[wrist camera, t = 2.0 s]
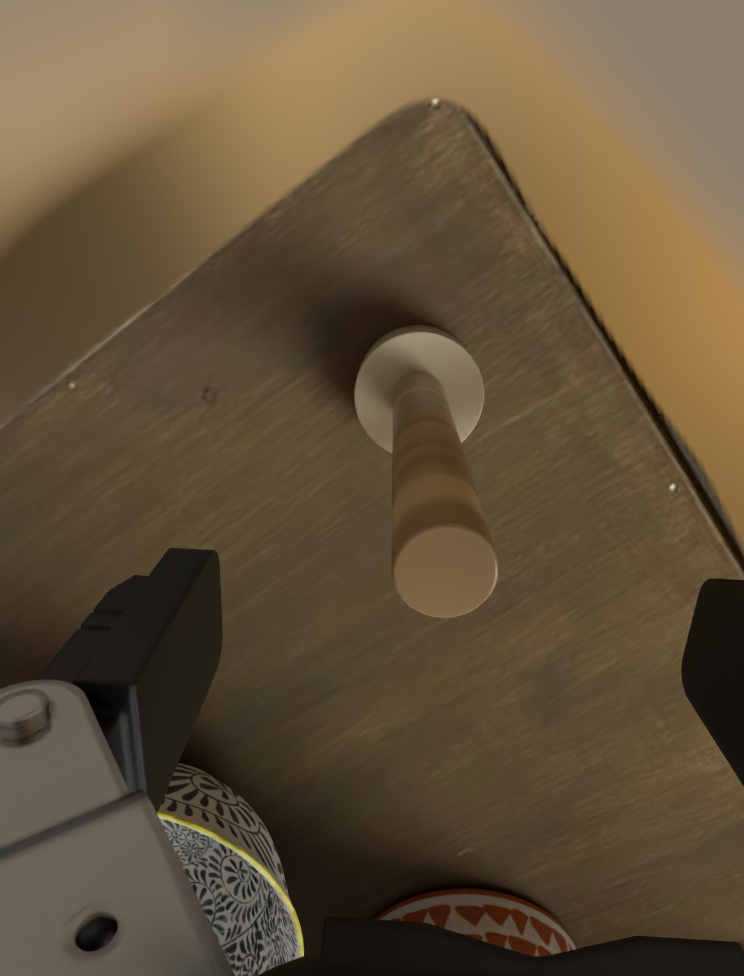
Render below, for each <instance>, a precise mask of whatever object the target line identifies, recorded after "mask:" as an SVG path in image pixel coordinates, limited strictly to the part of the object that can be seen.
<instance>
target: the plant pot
mask: <svg viewBox="0 0 744 976" xmlns="http://www.w3.org/2000/svg"><path fill="white" fill-rule="evenodd" d="M375 919H377V920H393V921H409V922H425V923H429V924H432V925H435V926H438V927H441V928H444V929H448V930H451V931H454V932H457V933H460V934H463V935H466V936H469V937H473V938H476V939H479V940H482V941H485V942H488V943H491V944H494V945H498V946H501V947H504V948H507V949H510V950H513V951H516V952H519V953H523V954H526V955H530V956H548V955H552V954H557V953H561V952H566V951H570V950H575V949H577V948H576V946H575V944H574V942H573V940H572V938H571V937H570V935H569V934H568V932H567V931H566V930H565V929H564V927H563V926H562V925H561V924H560V923H559V922H558V921H557V920H556V919H555V918H553V917H552V916H551V915H550V914H548V913H547V912H545V911H544V910H543V909H541V908H539V907H537V906H536V905H534V904H532V903H530V902H528V901H525V900H523V899H521V898H518V897H515V896H512V895H509V894H505V893H501V892H496V891H491V890H484V889H471V888H459V889H446V890H438V891H433V892H428V893H424V894H421V895H417V896H414V897H412V898H409V899H406V900H404V901H402V902H400V903H398V904H396V905H394V906H392V907H390V908H389V909H387V910H386V911H384V912H383V913H381V914H380V915H379V916H378V917H376V918H375Z"/></svg>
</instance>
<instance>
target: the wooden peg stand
mask: <svg viewBox="0 0 744 976" xmlns="http://www.w3.org/2000/svg"><path fill="white" fill-rule="evenodd" d="M354 403H355V409H356V413H357V416H358V419H359V421H360V424H361V426H362V427H363V429H364V431H365V432H366V433H367V435H368V436H369V437H370V438H371V439H372V440H373V441H374V442H375V443H376V444H377V445H378V446H380V447H381V448H383V449H384V450H386V451H388V452H390V453H392V580H393V583H394V586H395V588H396V591H397V592H398V594H399V595H400V597H401V598H402V599H403V600H404V601H405V602H406V603H407V604H408V605H409V606H410V607H412V608H413V609H415V610H416V611H418V612H420V613H422V614H425V615H428V616H432V617H439V618H449V617H456V616H460V615H463V614H466V613H469V612H471V611H473V610H474V609H476V608H477V607H479V606H480V605H481V604H482V603H484V602H485V600H486V599H487V598H488V597H489V596H490V594H491V593H492V591H493V589H494V587H495V585H496V582H497V579H498V574H499V564H498V558H497V555H496V551H495V548H494V545H493V542H492V539H491V536H490V533H489V529H488V526H487V523H486V520H485V517H484V514H483V511H482V507H481V504H480V501H479V498H478V495H477V492H476V489H475V485H474V482H473V479H472V476H471V473H470V470H469V467H468V463H467V460H466V457H465V454H464V451H463V448H462V445H461V443H462V442H463V441H464V440H465V439H466V438H467V437H468V436H469V434H470V433H471V432H472V431H473V429H474V427H475V426H476V424H477V422H478V420H479V418H480V415H481V412H482V408H483V403H484V385H483V380H482V376H481V373H480V370H479V368H478V366H477V364H476V362H475V361H474V359H473V357H472V356H471V354H470V353H469V351H468V350H467V348H466V347H465V346H464V345H463V344H462V343H461V342H460V341H459V340H458V339H457V338H456V337H454V336H453V335H452V334H450V333H448V332H446V331H444V330H442V329H440V328H437V327H433V326H428V325H410V326H404V327H401V328H397V329H395V330H393V331H390V332H389V333H387V334H385V335H384V336H382V337H381V338H380V339H379V340H377V341H376V342H375V343H374V344H373V345H372V346H371V348H370V349H369V350H368V352H367V353H366V355H365V356H364V358H363V360H362V363H361V365H360V368H359V371H358V375H357V379H356V383H355V390H354Z"/></svg>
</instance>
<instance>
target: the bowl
mask: <svg viewBox="0 0 744 976" xmlns="http://www.w3.org/2000/svg"><path fill="white" fill-rule="evenodd" d="M157 815H158V817H159V819H160V821H161V823H162V825H163V827H164V829H165V831H166V833H167V835H168V838H169V840H170V842H171V844H172V846H173V848H174V850H175V852H176V854H177V856H178V858H179V860H180V862H181V865H182V867H183V869H184V871H185V873H186V875H187V877H188V879H189V881H190V883H191V885H192V887H193V889H194V891H195V894H196V896H197V898H198V900H199V902H200V904H201V906H202V908H203V910H204V912H205V914H206V916H207V918H208V920H209V923H210V925H211V927H212V929H213V931H214V933H215V935H216V937H217V939H218V941H219V943H220V945H221V947H222V949H223V952H224V954H225V956H226V958H227V960H228V962H229V964H230V966H231V968H232V970H233V972H234V974H235V976H257V975H259V974H261V973H263V972H265V971H267V970H269V969H271V968H273V967H275V966H277V965H280V964H283V963H286V962H288V961H291V960H294V959H297V958H300V957H303V956H304V943H303V935H302V931H301V926H300V923H299V920H298V916H297V914H296V912H295V909H294V907H293V905H292V903H291V901H290V898H289V895H288V892H287V887H286V882H285V878H284V873H283V870H282V866H281V862H280V859H279V856H278V853H277V851H276V848H275V846H274V843H273V841H272V839H271V837H270V835H269V833H268V830H267V828H266V827H265V826H264V824H263V822H262V820H261V819H260V818H259V817H258V815H257V814H256V813H255V811H254V810H253V809H252V808H251V807H250V805H249V804H248V803H247V802H246V801H245V800H244V799H243V798H242V797H241V796H239V795H238V794H237V793H236V792H235V791H234V790H232V789H231V788H230V787H228V786H227V785H225V784H224V783H222V782H220V781H219V780H217V779H215V778H214V777H212V776H211V775H209V774H208V773H206V772H204V771H202V770H200V769H198V768H195V767H192V766H189V765H185V764H181V763H178V765H177V767H176V770H175V772H174V774H173V777H172V779H171V782H170V784H169V787H168V789H167V791H166V794H165V796H164V799H163V801H162V803H161V806H160V808H159V811H158V813H157Z"/></svg>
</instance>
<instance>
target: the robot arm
mask: <svg viewBox="0 0 744 976" xmlns="http://www.w3.org/2000/svg"><path fill="white" fill-rule="evenodd" d="M221 648H222V610H221V587H220V565H219V558H218V554H217V552H216V551H215V550H200V549H182V548H170V549H168V551H167V552H166V553H165V554H164V556H163V557H162V559H161V560H160V561H159V563H158V564H157V565H156V567H155V568H154V569H153V571H152V572H151V574H150V575H149V576H139V575H134V576H133V577H131V578H129V579H128V580H126V581H124V582H123V583H121V584H119V585H118V586H116V587H114V588H112V589H111V590H109V591H108V592H107V594H106V595H105V596H104V597H103V599H102V600H101V601H100V602H99V604H98V605H97V606H96V607H95V608H94V612H93V613H90V615H89V616H88V617H87V618H86V619H85V621H84V622H83V623H82V624H81V629H77V631H76V632H75V633H74V634H73V635H72V637H71V638H70V639H69V640H68V642H67V643H66V644H65V645H64V646H63V648H62V649H61V650H60V651H59V653H58V654H57V655H56V656H55V658H54V659H53V660H52V661H51V662H50V664H49V665H48V666H47V667H46V669H45V670H44V671H43V672H42V673H41V675H40V676H39V677H38V678H37V680H33V681H27V682H22V683H18V684H14V685H11V686H8V687H5V688H2V689H0V976H235V974H234V972H233V970H232V968H231V966H230V964H229V962H228V960H227V958H226V956H225V954H224V952H223V949H222V947H221V945H220V943H219V941H218V939H217V937H216V935H215V933H214V931H213V929H212V927H211V925H210V923H209V920H208V918H207V916H206V914H205V912H204V910H203V908H202V906H201V904H200V902H199V900H198V898H197V896H196V894H195V891H194V889H193V887H192V885H191V883H190V881H189V879H188V877H187V875H186V873H185V871H184V869H183V867H182V865H181V862H180V860H179V858H178V856H177V854H176V852H175V850H174V848H173V846H172V844H171V842H170V840H169V838H168V835H167V833H166V831H165V829H164V827H163V825H162V823H161V821H160V819H159V817H158V815H157V813H158V811H159V808H160V806H161V803H162V801H163V799H164V796H165V794H166V791H167V789H168V787H169V784H170V782H171V779H172V777H173V774H174V772H175V770H176V767H177V765H178V762H179V760H180V758H181V755H182V753H183V750H184V748H185V745H186V743H187V741H188V738H189V736H190V733H191V731H192V729H193V726H194V724H195V721H196V719H197V717H198V714H199V712H200V709H201V707H202V704H203V702H204V700H205V697H206V695H207V692H208V690H209V688H210V685H211V683H212V680H213V678H214V675H215V673H216V671H217V668H218V664H219V660H220V655H221ZM681 672H682V682H683V687H684V690H685V693H686V696H687V698H688V699H689V701H690V703H691V704H692V706H693V707H694V709H695V711H696V712H697V714H698V715H699V717H700V718H701V720H702V722H703V723H704V725H705V726H706V728H707V729H708V731H709V733H710V734H711V736H712V737H713V739H714V740H715V742H716V744H717V745H718V747H719V748H720V750H721V751H722V753H723V755H724V756H725V758H726V759H727V761H728V762H729V764H730V766H731V767H732V769H733V770H734V772H735V773H736V775H737V777H738V778H739V780H740V781H741V783H742V784H743V786H744V580H730V579H708V580H706V581H705V582H704V584H703V585H702V587H701V589H700V592H699V595H698V599H697V603H696V607H695V611H694V615H693V619H692V623H691V627H690V631H689V635H688V639H687V643H686V647H685V651H684V655H683V659H682V669H681ZM257 976H744V952H743V950H742V947H741V945H740V943H739V942H726V941H710V940H694V939H678V938H663V937H647V936H634V937H629V938H625V939H620V940H616V941H611V942H607V943H602V944H597V945H593V946H588V947H584V948H579V949H575V950H570V951H566V952H561V953H557V954H552V955H548V956H530V955H526V954H523V953H519V952H516V951H513V950H510V949H507V948H504V947H501V946H498V945H494V944H491V943H488V942H485V941H482V940H479V939H476V938H473V937H469V936H466V935H463V934H460V933H457V932H454V931H451V930H448V929H444V928H441V927H438V926H435V925H432V924H429V923H425V922H409V921H393V920H377V919H361V918H345V917H330V916H325V920H324V929H323V939H322V949H321V953H316V954H312V955H307V956H303V957H300V958H297V959H294V960H291V961H288V962H286V963H283V964H280V965H277V966H275V967H273V968H271V969H269V970H267V971H265V972H263V973H261V974H259V975H257Z"/></svg>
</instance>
